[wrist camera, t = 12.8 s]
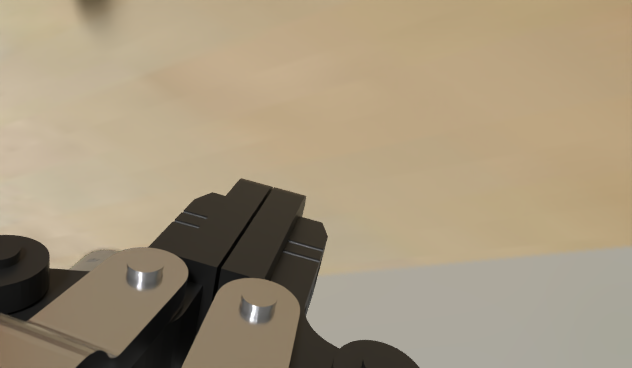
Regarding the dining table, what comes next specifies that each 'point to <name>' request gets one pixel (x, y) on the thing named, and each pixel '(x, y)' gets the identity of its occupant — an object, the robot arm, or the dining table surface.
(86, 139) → the dining table surface
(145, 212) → the dining table surface
